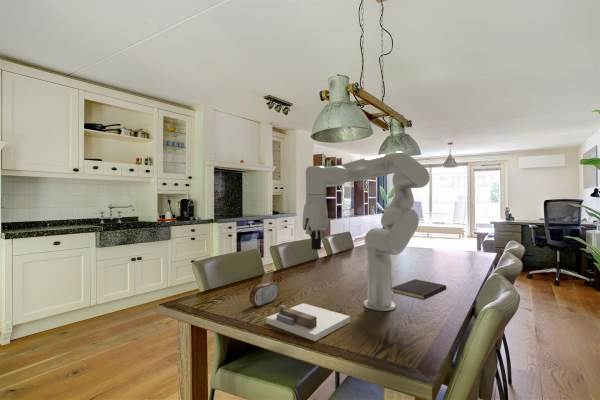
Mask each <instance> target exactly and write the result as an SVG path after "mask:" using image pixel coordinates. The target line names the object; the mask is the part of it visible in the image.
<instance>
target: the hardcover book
mask: <svg viewBox="0 0 600 400" xmlns="http://www.w3.org/2000/svg"><path fill="white" fill-rule="evenodd" d="M445 290H447V285H445V284H441V283H435V282H432V281H427V280H421V279H417V278H416V279H412V280H409V281H407V282H403V283H401V284H398V285H395V286H393V287H392V292H393V293H397V294H401V295H405V296H410V297H414V298H418V299H421V300H425V299H428V298H431V297H432V296H434V295H437V294H438V293H440V292H443V291H445Z"/></svg>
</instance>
